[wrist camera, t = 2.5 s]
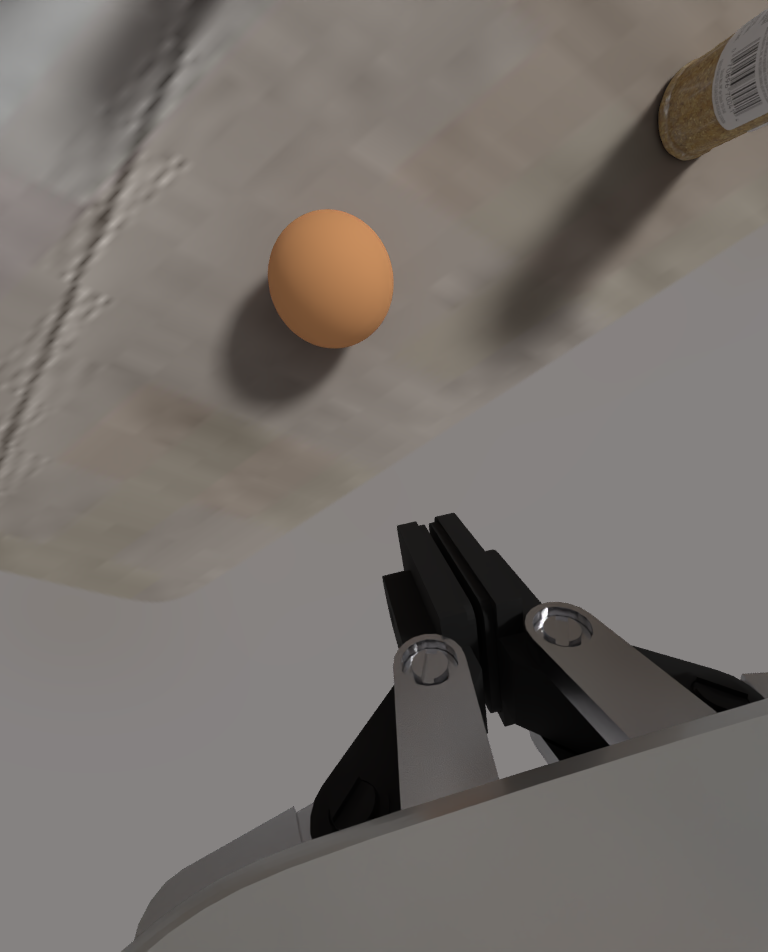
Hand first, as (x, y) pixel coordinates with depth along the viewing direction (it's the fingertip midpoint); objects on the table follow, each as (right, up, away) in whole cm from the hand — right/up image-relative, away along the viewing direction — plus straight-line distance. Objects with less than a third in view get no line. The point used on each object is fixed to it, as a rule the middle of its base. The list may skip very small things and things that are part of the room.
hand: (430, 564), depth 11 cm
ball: (-4, +12, +8) cm, 15 cm away
